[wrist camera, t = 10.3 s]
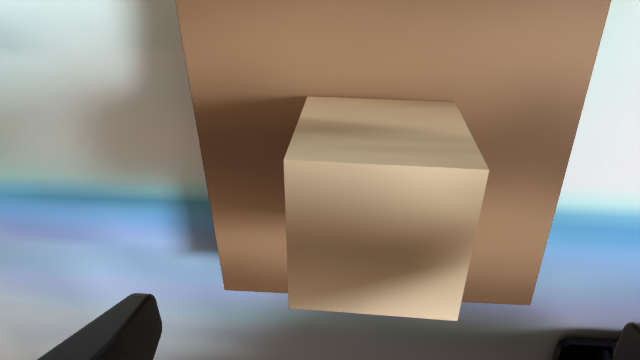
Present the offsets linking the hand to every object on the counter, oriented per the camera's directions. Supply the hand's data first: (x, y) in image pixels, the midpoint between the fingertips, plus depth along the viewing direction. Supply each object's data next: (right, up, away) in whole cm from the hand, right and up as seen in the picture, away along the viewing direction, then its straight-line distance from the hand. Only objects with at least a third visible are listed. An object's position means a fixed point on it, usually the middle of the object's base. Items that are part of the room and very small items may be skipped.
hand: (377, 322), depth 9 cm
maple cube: (+1, +3, +6) cm, 7 cm away
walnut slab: (+1, +5, +9) cm, 10 cm away
